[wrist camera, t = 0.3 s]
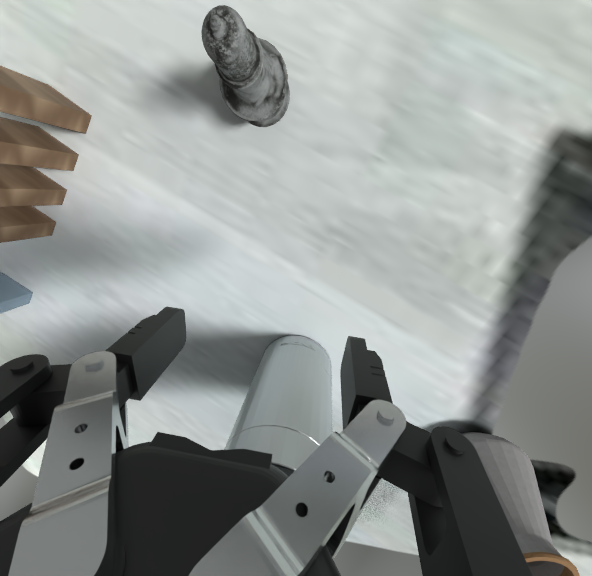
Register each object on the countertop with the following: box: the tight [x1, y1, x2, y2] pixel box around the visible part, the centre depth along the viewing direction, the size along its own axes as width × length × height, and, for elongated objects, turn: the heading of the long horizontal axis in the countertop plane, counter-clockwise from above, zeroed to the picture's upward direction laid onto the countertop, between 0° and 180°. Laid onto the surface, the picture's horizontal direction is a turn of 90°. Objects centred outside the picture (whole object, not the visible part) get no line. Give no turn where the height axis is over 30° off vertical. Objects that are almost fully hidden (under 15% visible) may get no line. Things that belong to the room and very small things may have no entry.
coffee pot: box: [462, 432, 579, 576], centre depth 31 cm, size 21×12×15 cm, turn 173°
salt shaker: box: [202, 5, 290, 127], centre depth 20 cm, size 6×6×12 cm
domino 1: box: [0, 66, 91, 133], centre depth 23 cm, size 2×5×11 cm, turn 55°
